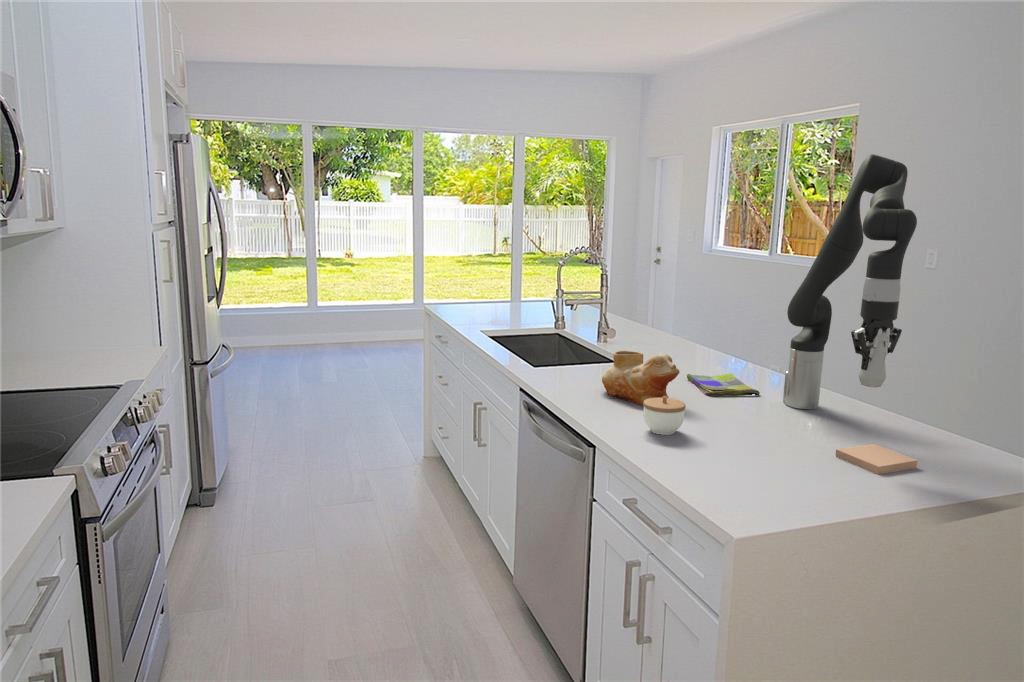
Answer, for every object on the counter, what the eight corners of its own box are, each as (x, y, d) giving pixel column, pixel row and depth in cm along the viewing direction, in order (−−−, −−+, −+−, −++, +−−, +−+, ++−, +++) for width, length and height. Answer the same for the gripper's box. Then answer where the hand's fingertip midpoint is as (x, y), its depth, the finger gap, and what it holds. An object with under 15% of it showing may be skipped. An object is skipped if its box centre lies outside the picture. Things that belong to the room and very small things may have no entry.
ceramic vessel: (658, 411, 203) (661, 360, 201) (591, 392, 223) (593, 346, 220) (687, 403, 212) (690, 354, 209) (621, 386, 232) (623, 341, 229)
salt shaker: (869, 389, 161) (876, 333, 159) (851, 382, 167) (857, 328, 164) (890, 387, 163) (897, 332, 160) (871, 381, 168) (878, 327, 166)
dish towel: (734, 379, 245) (734, 372, 245) (762, 398, 221) (762, 390, 221) (684, 379, 244) (684, 371, 244) (706, 398, 220) (707, 389, 220)
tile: (836, 449, 168) (878, 466, 157) (873, 443, 172) (917, 460, 162) (835, 458, 169) (877, 476, 158) (872, 452, 173) (916, 469, 162)
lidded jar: (653, 439, 179) (655, 403, 177) (635, 426, 189) (636, 392, 187) (691, 436, 182) (693, 401, 180) (671, 424, 192) (673, 390, 190)
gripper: (888, 294, 167) (880, 366, 170) (844, 297, 162) (836, 370, 165) (917, 299, 160) (907, 373, 164) (872, 301, 155) (863, 378, 158)
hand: (872, 371), depth 164 cm, fingers closed on salt shaker, 3 cm apart
